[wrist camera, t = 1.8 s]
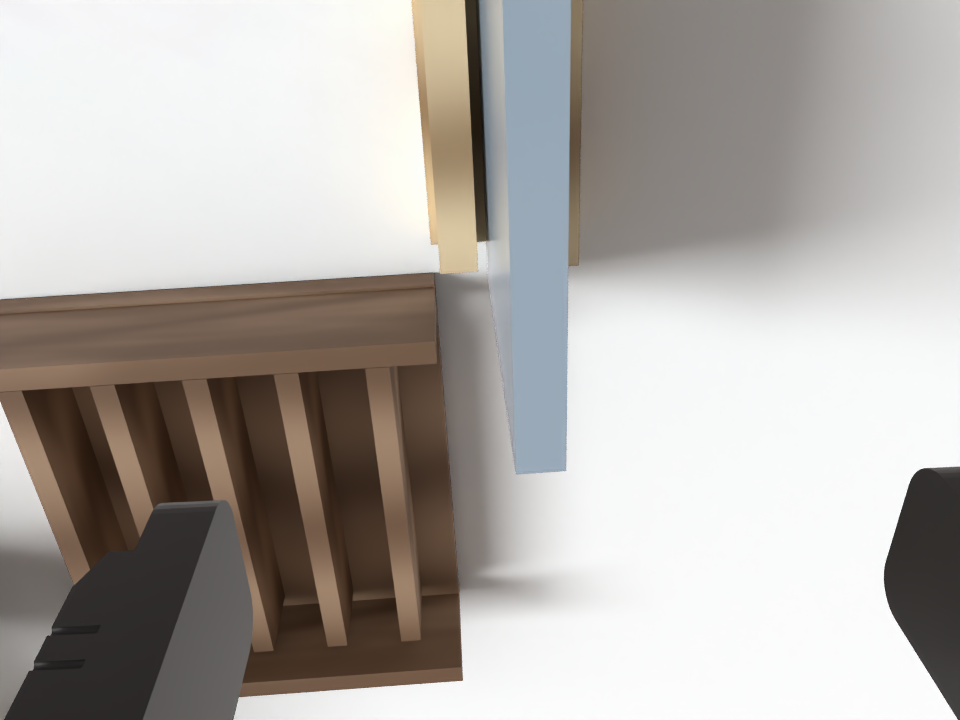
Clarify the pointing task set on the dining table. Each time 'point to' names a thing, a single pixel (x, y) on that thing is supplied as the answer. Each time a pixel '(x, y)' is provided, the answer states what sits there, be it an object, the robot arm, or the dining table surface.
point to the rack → (259, 456)
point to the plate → (528, 214)
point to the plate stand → (471, 128)
